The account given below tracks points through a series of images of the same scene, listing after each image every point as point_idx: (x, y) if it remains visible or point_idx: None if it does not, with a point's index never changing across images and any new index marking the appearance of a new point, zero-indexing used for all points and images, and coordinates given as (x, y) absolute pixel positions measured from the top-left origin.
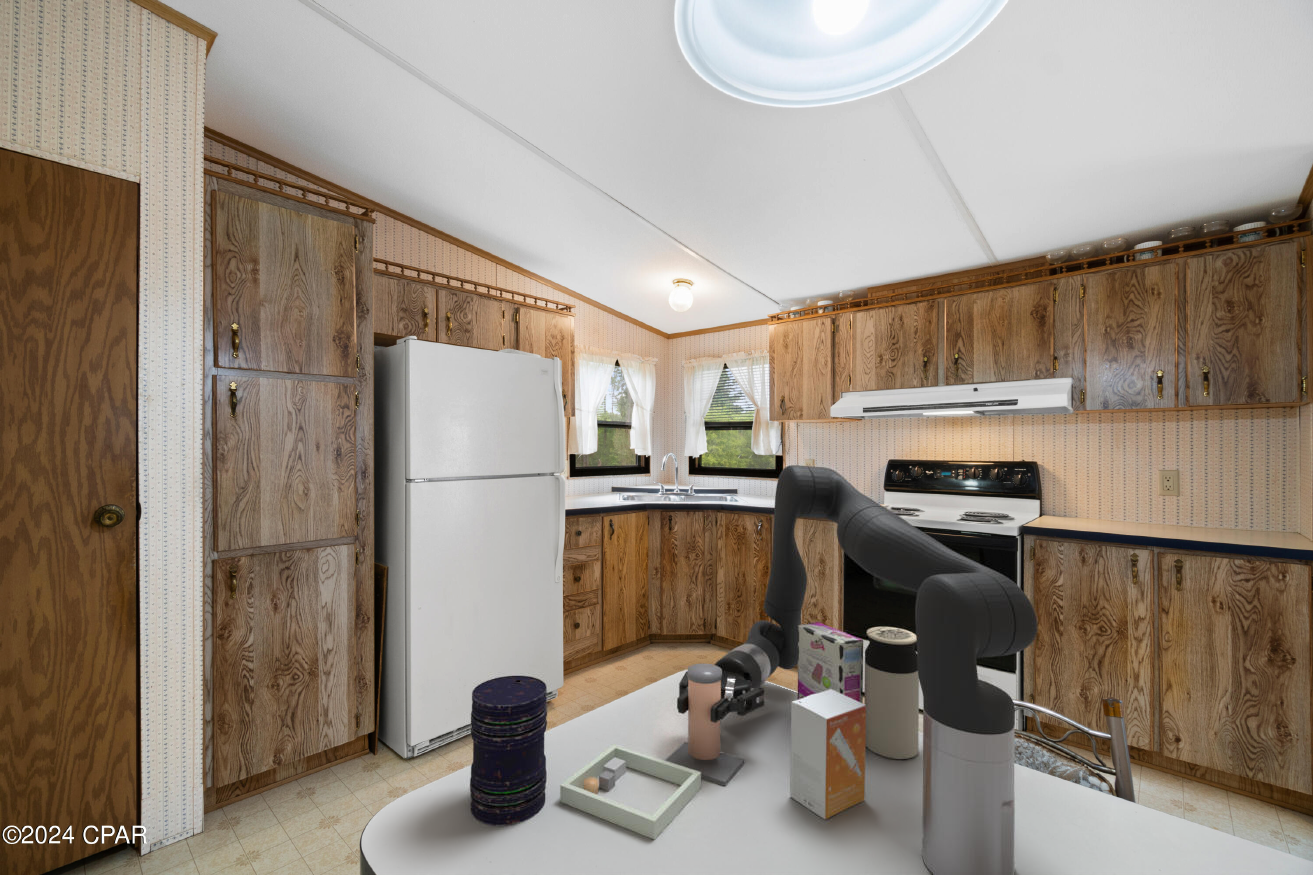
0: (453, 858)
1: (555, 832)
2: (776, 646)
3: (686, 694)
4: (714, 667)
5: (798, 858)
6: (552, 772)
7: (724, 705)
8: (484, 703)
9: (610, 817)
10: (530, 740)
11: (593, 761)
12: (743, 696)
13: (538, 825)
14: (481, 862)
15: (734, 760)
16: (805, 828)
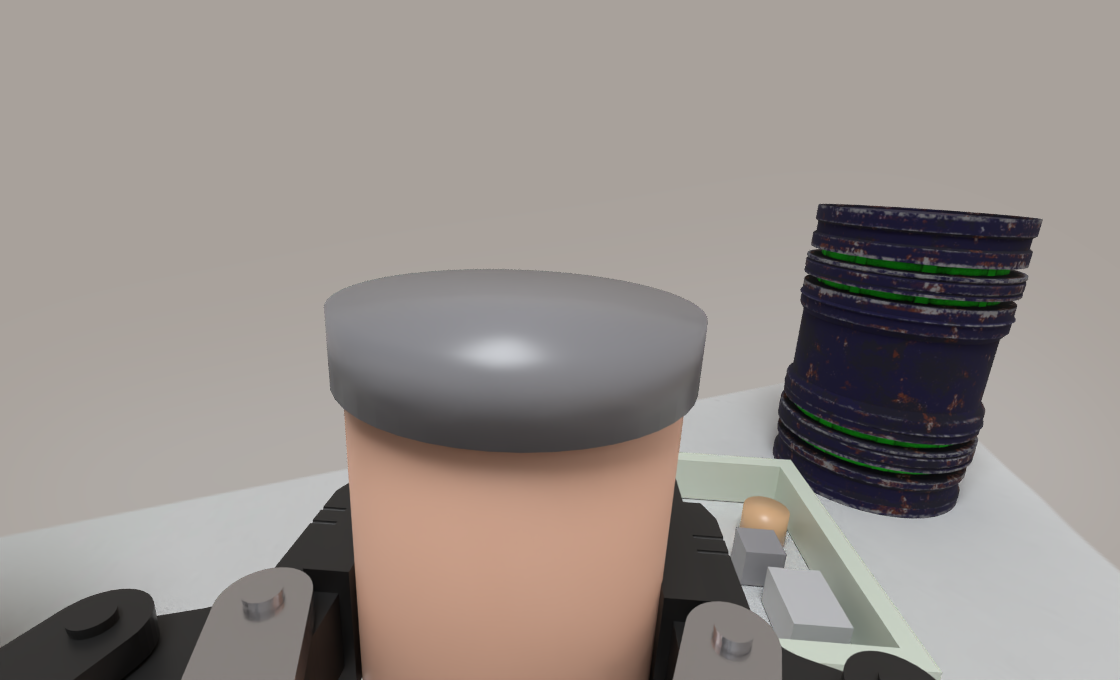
0: (762, 394)
1: (697, 446)
2: None
3: (670, 525)
4: (429, 328)
5: (138, 523)
6: (947, 569)
7: (318, 535)
8: (869, 206)
9: None
10: (802, 297)
11: (848, 550)
12: (35, 672)
13: (740, 449)
14: (725, 397)
15: None
16: (30, 627)
